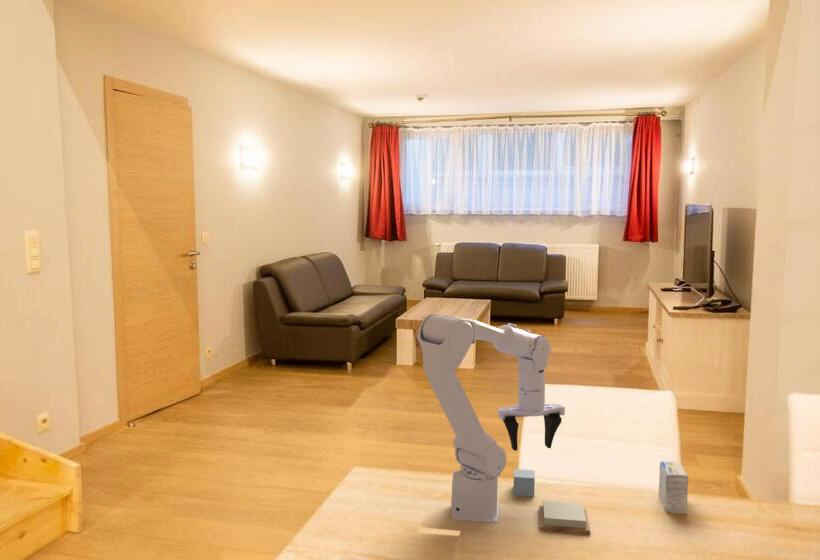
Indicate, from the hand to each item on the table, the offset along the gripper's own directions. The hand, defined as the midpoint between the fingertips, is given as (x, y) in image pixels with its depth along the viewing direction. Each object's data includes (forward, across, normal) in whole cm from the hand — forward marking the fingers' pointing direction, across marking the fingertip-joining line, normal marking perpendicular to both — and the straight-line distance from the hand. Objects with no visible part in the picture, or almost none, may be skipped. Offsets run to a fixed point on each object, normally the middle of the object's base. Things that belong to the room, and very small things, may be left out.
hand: (531, 447), depth 146 cm
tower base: (+11, +2, -14) cm, 18 cm away
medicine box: (+11, +28, -11) cm, 32 cm away
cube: (+10, -2, 0) cm, 11 cm away
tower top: (+9, +2, -14) cm, 17 cm away
